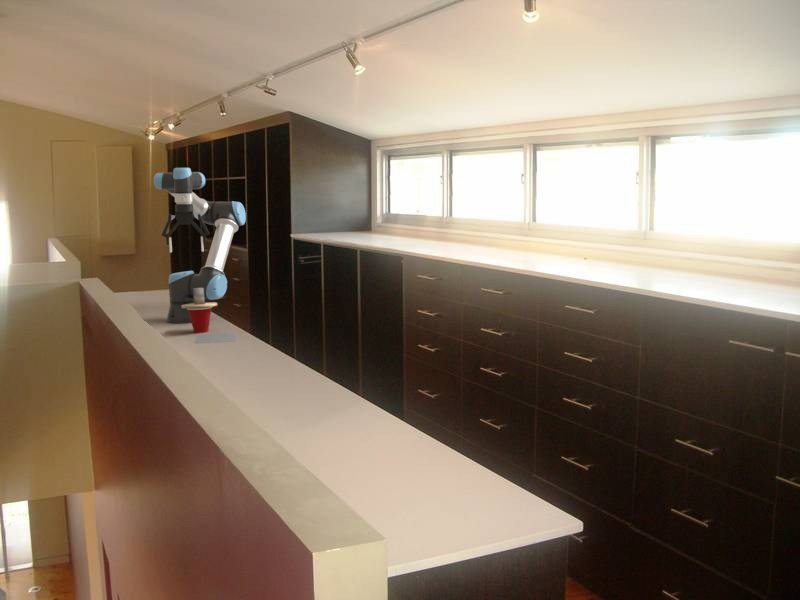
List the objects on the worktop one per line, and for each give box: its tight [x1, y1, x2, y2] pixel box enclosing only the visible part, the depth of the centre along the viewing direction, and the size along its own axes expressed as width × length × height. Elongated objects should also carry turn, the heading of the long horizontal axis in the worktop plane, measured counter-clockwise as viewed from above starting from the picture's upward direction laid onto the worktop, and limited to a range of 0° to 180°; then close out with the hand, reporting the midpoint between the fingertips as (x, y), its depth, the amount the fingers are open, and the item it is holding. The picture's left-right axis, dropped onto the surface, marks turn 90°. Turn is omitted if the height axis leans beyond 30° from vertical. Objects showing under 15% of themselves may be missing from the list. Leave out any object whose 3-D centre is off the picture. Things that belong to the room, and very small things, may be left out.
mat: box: [194, 332, 237, 344], centre depth 332 cm, size 17×16×1 cm
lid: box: [182, 288, 218, 308], centre depth 344 cm, size 15×15×8 cm
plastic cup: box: [187, 307, 213, 334], centre depth 346 cm, size 11×11×12 cm
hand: (186, 251), depth 352 cm, fingers open, 13 cm apart
